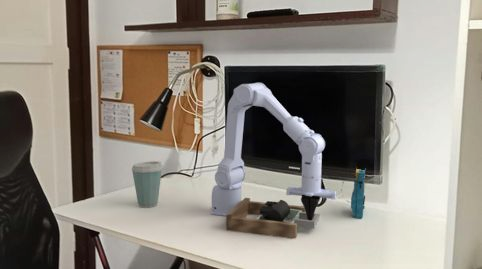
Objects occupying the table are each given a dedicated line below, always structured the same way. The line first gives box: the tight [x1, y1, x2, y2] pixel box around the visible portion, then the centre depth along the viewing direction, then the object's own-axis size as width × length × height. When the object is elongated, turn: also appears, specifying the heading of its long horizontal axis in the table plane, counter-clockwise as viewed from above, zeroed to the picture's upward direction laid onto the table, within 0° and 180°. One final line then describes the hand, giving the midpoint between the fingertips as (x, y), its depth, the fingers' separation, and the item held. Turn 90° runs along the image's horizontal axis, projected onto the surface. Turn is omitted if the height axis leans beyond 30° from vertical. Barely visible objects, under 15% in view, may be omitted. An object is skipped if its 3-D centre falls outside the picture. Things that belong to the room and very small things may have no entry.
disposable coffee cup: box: [131, 160, 164, 208], centre depth 175 cm, size 11×11×15 cm
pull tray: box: [256, 209, 320, 229], centre depth 154 cm, size 17×14×4 cm
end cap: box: [259, 199, 290, 222], centre depth 156 cm, size 10×7×7 cm
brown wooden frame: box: [225, 197, 306, 239], centre depth 156 cm, size 21×18×5 cm
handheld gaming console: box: [350, 168, 366, 220], centre depth 165 cm, size 10×4×15 cm, turn 164°
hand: (310, 219), depth 152 cm, fingers closed
